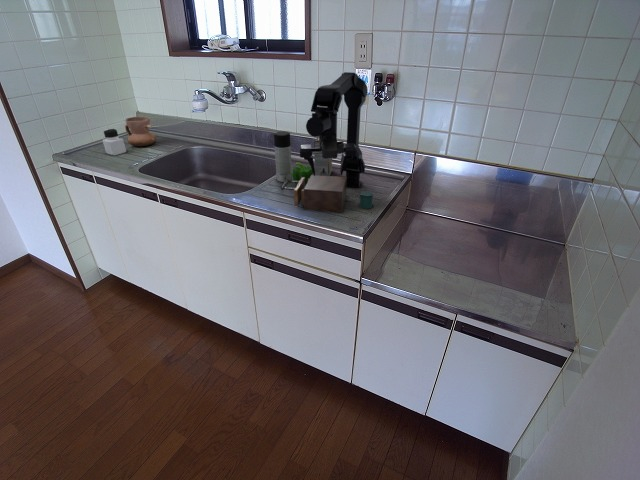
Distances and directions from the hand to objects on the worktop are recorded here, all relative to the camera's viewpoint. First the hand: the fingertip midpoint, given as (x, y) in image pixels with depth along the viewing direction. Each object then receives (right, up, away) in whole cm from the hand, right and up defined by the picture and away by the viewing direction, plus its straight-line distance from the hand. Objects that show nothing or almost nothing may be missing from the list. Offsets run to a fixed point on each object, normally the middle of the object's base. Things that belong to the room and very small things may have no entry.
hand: (327, 174), depth 127 cm
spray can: (-18, +4, +33) cm, 38 cm away
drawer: (-7, -7, +13) cm, 16 cm away
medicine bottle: (-109, +23, +66) cm, 130 cm away
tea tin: (+14, -10, +10) cm, 20 cm away
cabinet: (0, -8, +12) cm, 15 cm away
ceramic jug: (-101, +31, +79) cm, 132 cm away
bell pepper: (-10, 0, +27) cm, 28 cm away
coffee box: (-1, +7, +38) cm, 39 cm away
